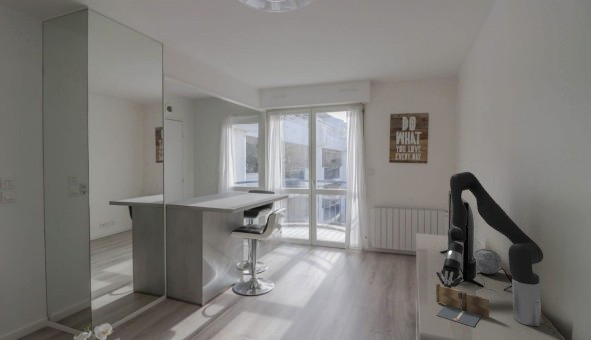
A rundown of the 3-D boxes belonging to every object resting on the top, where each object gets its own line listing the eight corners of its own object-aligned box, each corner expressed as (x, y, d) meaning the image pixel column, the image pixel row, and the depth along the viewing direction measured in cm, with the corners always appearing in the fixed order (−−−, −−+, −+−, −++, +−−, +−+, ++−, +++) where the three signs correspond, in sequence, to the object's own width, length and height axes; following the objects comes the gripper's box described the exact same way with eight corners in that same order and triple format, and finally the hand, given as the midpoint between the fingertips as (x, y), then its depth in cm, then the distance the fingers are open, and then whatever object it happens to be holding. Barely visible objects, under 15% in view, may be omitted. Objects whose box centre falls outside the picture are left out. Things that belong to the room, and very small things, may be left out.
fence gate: (462, 307, 139) (462, 289, 139) (461, 308, 138) (460, 290, 138) (437, 300, 147) (436, 283, 147) (435, 301, 146) (435, 284, 146)
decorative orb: (502, 271, 183) (501, 247, 182) (501, 279, 171) (500, 253, 171) (474, 267, 191) (473, 244, 191) (471, 274, 180) (470, 250, 180)
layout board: (484, 311, 136) (484, 311, 136) (474, 327, 124) (473, 326, 124) (448, 302, 146) (448, 301, 146) (436, 315, 134) (436, 314, 134)
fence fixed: (489, 316, 132) (489, 298, 132) (488, 318, 130) (488, 300, 130) (462, 308, 139) (462, 291, 139) (461, 310, 138) (461, 293, 138)
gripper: (437, 255, 158) (430, 286, 149) (465, 260, 149) (459, 292, 140) (441, 262, 162) (434, 292, 153) (468, 268, 153) (462, 300, 144)
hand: (446, 292), depth 147 cm, fingers closed
